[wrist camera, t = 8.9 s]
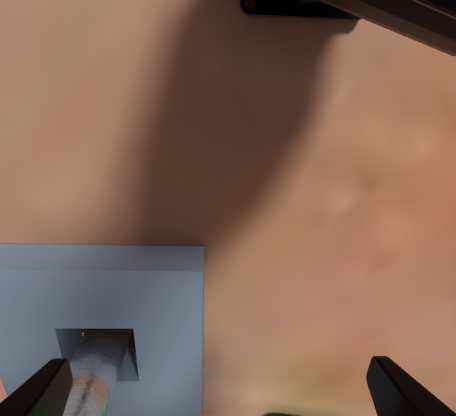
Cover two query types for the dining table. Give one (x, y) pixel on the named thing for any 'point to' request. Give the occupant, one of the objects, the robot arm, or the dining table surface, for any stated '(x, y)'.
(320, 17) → the robot arm
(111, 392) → the pin
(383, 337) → the dining table surface
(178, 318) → the socket plate
